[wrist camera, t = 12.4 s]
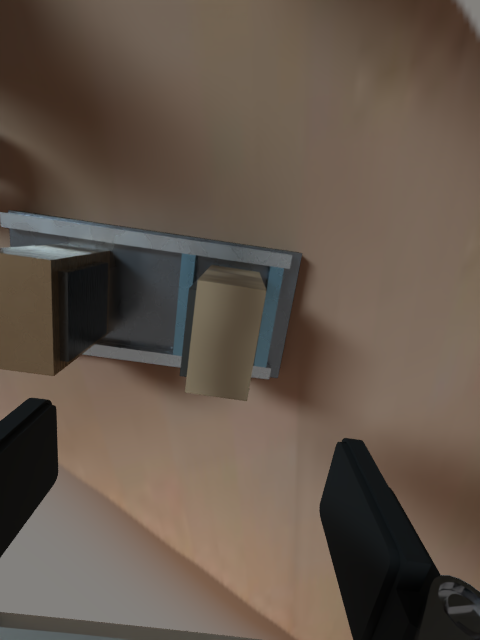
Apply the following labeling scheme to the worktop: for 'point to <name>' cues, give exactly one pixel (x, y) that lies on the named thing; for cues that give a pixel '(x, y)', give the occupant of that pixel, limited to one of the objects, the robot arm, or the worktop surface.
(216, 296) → the tan wooden block
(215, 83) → the worktop surface
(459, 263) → the worktop surface
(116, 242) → the rail
